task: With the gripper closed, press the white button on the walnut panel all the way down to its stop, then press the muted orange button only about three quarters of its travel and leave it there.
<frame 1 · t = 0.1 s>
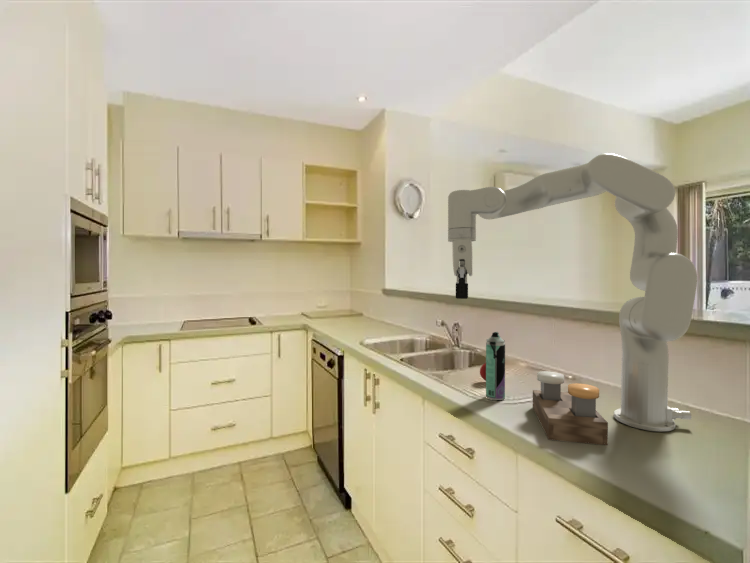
hand: (461, 297, 103), 31 cm above the worktop, tool pointing down, fingers open, 9 cm apart
button panel: (565, 424, 92), on the worktop
white button: (550, 387, 97), point 8 cm above the worktop, slide at 0.0 cm
orange button: (583, 401, 86), point 8 cm above the worktop, slide at 0.0 cm
spray can: (495, 398, 111), on the worktop
onion: (488, 383, 126), on the worktop
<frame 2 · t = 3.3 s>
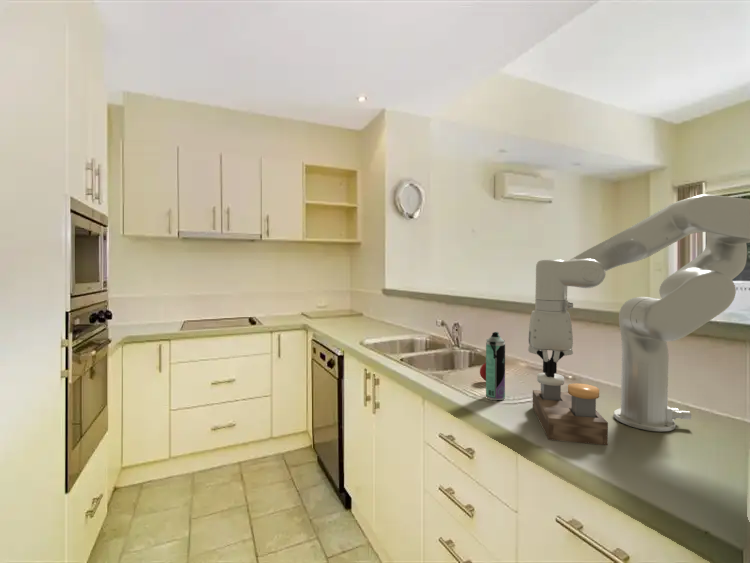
hand: (549, 375, 97), 11 cm above the worktop, tool pointing down, fingers closed
white button: (550, 388, 97), point 7 cm above the worktop, slide at 0.4 cm, touching gripper
everything else where it was.
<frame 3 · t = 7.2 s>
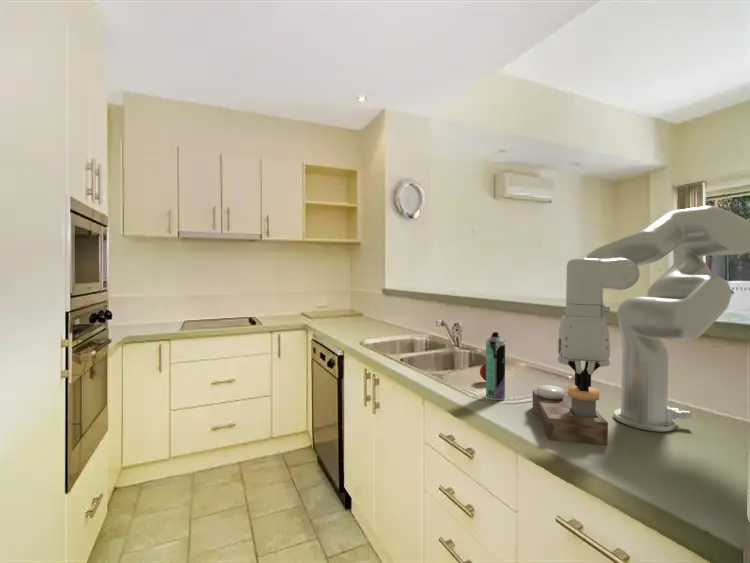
hand: (582, 389, 86), 11 cm above the worktop, tool pointing down, fingers closed
white button: (550, 401, 97), point 4 cm above the worktop, slide at 3.8 cm
orange button: (583, 403, 86), point 7 cm above the worktop, slide at 0.4 cm, touching gripper
everything else where it was.
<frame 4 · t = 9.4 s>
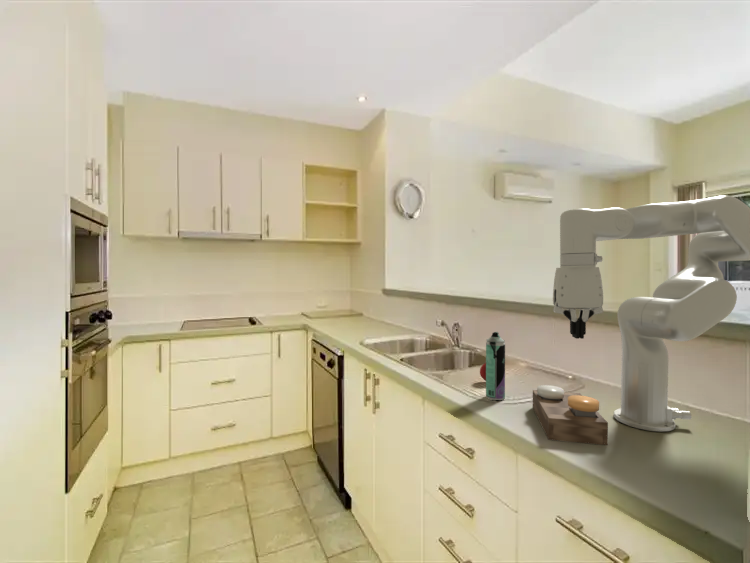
hand: (577, 337, 89), 22 cm above the worktop, tool pointing down, fingers closed
orange button: (583, 414, 86), point 5 cm above the worktop, slide at 2.9 cm
everything else where it was.
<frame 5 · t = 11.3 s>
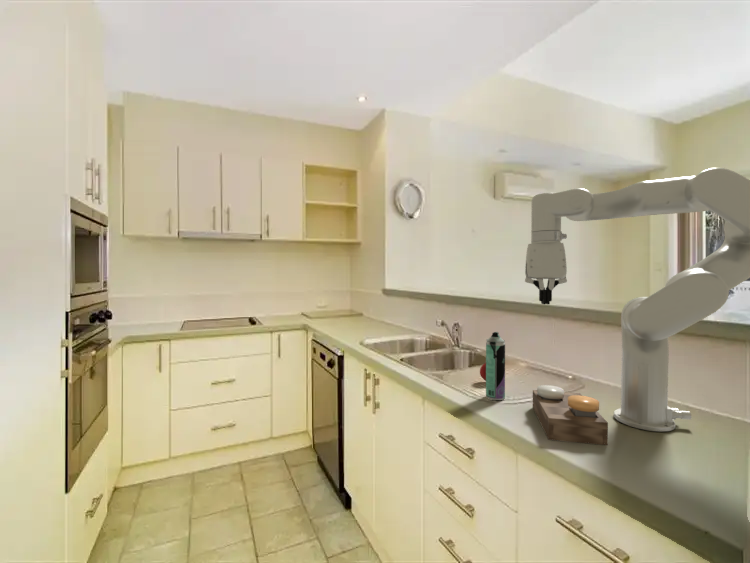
hand: (545, 303, 103), 29 cm above the worktop, tool pointing down, fingers closed
nothing on the worktop moved.
at the end: white button slide at 3.8 cm; orange button slide at 2.9 cm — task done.
